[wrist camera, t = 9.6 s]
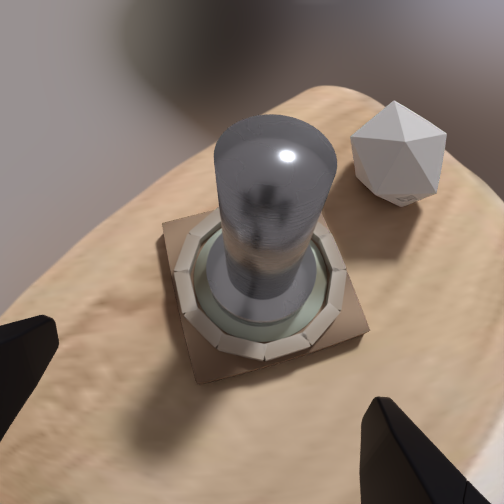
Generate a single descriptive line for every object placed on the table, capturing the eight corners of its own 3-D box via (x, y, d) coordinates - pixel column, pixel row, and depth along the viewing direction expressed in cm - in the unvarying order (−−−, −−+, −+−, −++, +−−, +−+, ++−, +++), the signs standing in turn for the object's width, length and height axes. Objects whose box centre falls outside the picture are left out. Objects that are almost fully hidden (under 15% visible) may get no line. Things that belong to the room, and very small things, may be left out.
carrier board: (364, 334, 21) (374, 328, 20) (199, 384, 20) (194, 383, 18) (307, 197, 26) (312, 182, 24) (165, 230, 25) (159, 217, 23)
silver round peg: (325, 309, 21) (403, 215, 10) (223, 339, 20) (197, 267, 9) (292, 221, 24) (323, 89, 13) (199, 244, 23) (167, 113, 12)
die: (365, 236, 26) (469, 199, 18) (312, 146, 24) (414, 88, 17) (387, 200, 31) (467, 167, 24) (345, 128, 30) (424, 84, 22)
